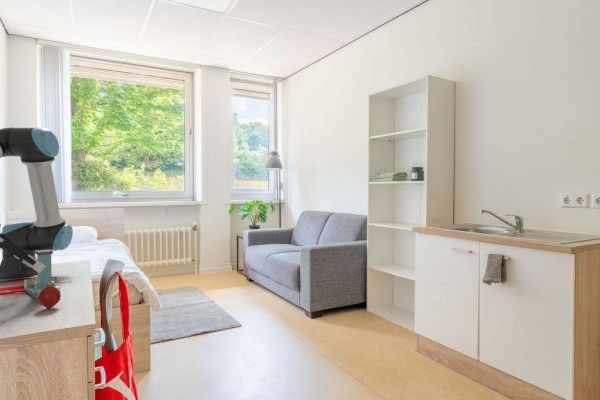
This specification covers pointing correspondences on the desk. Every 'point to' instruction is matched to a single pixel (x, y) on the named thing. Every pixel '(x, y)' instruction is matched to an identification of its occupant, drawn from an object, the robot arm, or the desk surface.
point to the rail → (30, 288)
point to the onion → (49, 296)
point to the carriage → (45, 274)
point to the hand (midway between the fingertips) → (37, 266)
